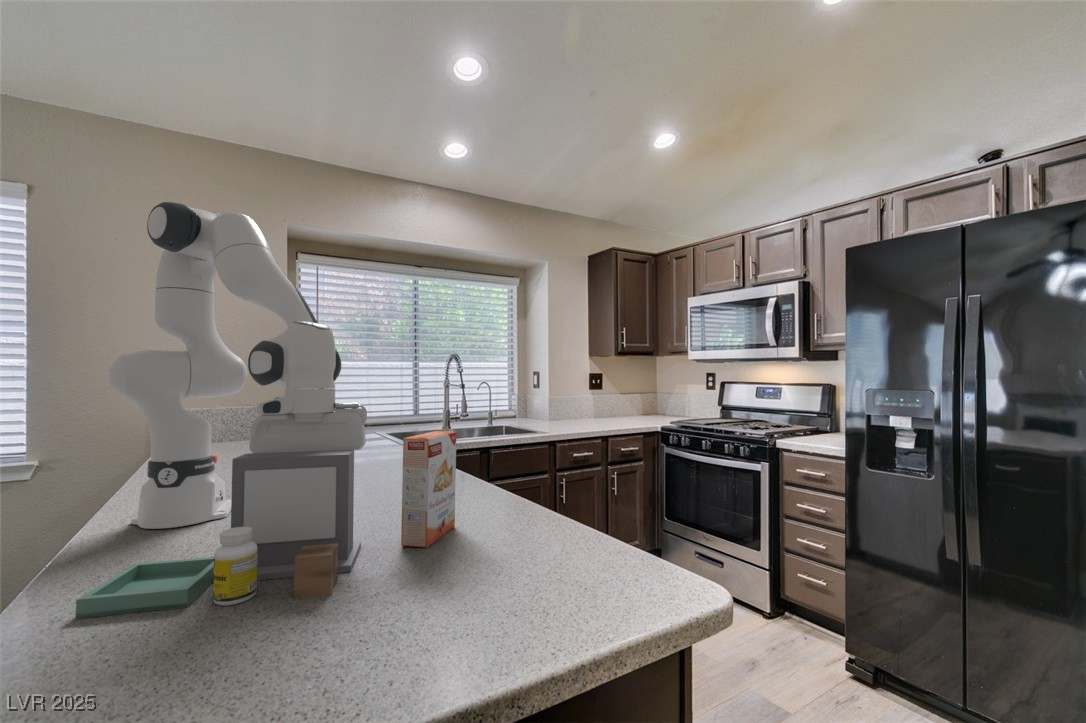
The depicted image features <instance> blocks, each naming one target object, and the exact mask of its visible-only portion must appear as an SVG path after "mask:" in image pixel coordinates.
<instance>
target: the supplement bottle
mask: <svg viewBox="0 0 1086 723" xmlns="http://www.w3.org/2000/svg"><path fill="white" fill-rule="evenodd" d="M251 539H252V528H251V527H236V528H231V527H230V528H228V529H224V530H222V531H221V532H220V534H219V543H220V545H221V546H219V547H218V548H217V549H216V550H215V551H214V554H213V557H214V582H213V584H212V585H213V590H212V592H213V593H212V595H213V597H212V598H213V599H212V600H213V603H214V604H215V605H218V606H224V607H225V606H235V605H238V604H241V603H244V602H247V601H249V600H250V599H253V597H254V596H255V595H256V594H257V591H258V580H257V544H256V543H254V542H252V541H250V540H251Z"/></svg>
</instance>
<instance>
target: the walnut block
mask: <svg viewBox="0 0 1086 723" xmlns="http://www.w3.org/2000/svg"><path fill="white" fill-rule="evenodd" d="M337 563H338V543H337V544H325V545H313V546H303V548H302V549H301V550H300V552H299V553H298V554H297V556H296V557H295V570H294V577H293V578H294V580H293V582H294V584H293V599H294V600H300V599H309V598H320V597H329V596H332V594H333V592H334V590H335V587H336V585H337V583H338V573H337Z"/></svg>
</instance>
